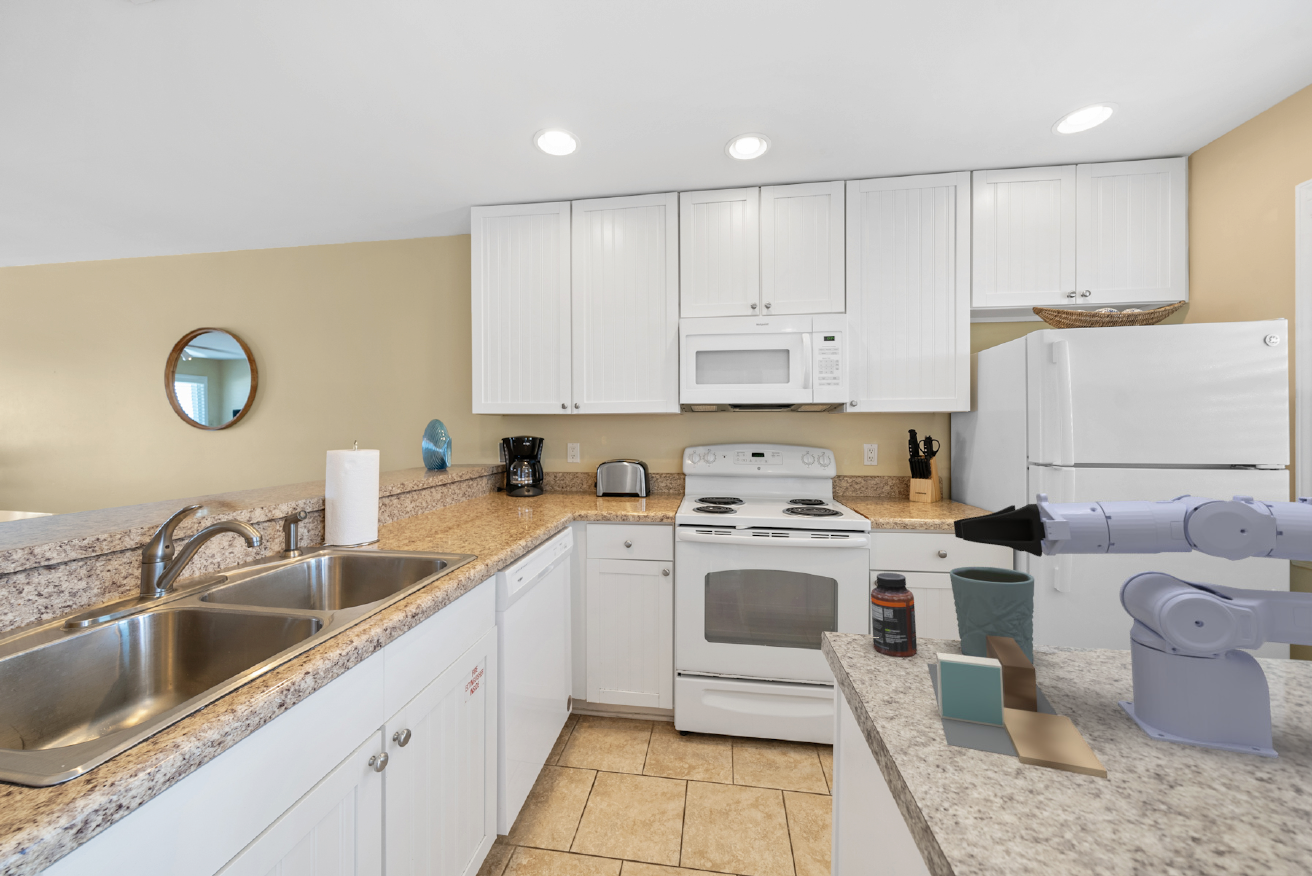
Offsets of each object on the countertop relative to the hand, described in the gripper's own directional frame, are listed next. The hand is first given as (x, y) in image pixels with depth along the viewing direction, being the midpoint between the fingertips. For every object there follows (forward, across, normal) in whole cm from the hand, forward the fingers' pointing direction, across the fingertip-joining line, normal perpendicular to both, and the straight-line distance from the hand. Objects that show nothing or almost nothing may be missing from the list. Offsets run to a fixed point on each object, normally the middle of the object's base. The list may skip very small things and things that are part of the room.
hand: (958, 529), depth 62 cm
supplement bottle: (+9, -15, +18) cm, 25 cm away
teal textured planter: (-4, -17, +19) cm, 26 cm away
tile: (+1, +3, +20) cm, 21 cm away
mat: (-2, -1, +20) cm, 20 cm away
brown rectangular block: (-4, -5, +20) cm, 21 cm away
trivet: (-5, +6, +21) cm, 23 cm away
